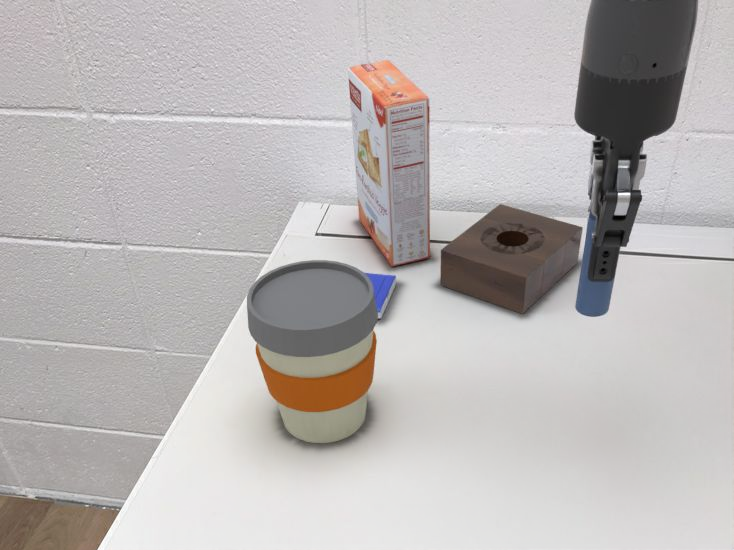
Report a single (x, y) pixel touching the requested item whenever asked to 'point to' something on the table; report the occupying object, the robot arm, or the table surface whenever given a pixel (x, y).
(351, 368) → the reusable coffee cup
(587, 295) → the peg
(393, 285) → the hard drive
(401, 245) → the cracker box
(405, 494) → the table surface
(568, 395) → the table surface
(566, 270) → the walnut block
